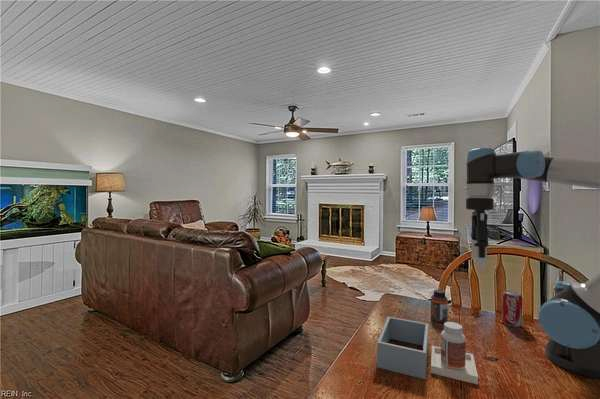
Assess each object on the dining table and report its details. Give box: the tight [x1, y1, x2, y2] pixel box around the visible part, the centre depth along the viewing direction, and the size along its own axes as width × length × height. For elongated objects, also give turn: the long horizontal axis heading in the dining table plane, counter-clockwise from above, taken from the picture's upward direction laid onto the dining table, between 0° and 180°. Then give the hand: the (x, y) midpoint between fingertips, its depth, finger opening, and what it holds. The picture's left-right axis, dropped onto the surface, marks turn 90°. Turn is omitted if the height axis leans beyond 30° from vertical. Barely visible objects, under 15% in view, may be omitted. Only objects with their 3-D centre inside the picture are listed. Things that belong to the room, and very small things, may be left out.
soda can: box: [501, 290, 524, 328], centre depth 111 cm, size 6×6×12 cm
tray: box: [430, 345, 479, 385], centre depth 83 cm, size 11×12×2 cm
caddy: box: [376, 316, 429, 381], centre depth 88 cm, size 13×20×7 cm, turn 155°
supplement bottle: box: [430, 289, 449, 323], centre depth 115 cm, size 6×6×11 cm
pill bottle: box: [440, 321, 467, 370], centre depth 83 cm, size 6×6×11 cm
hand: (478, 263), depth 94 cm, fingers open, 13 cm apart
